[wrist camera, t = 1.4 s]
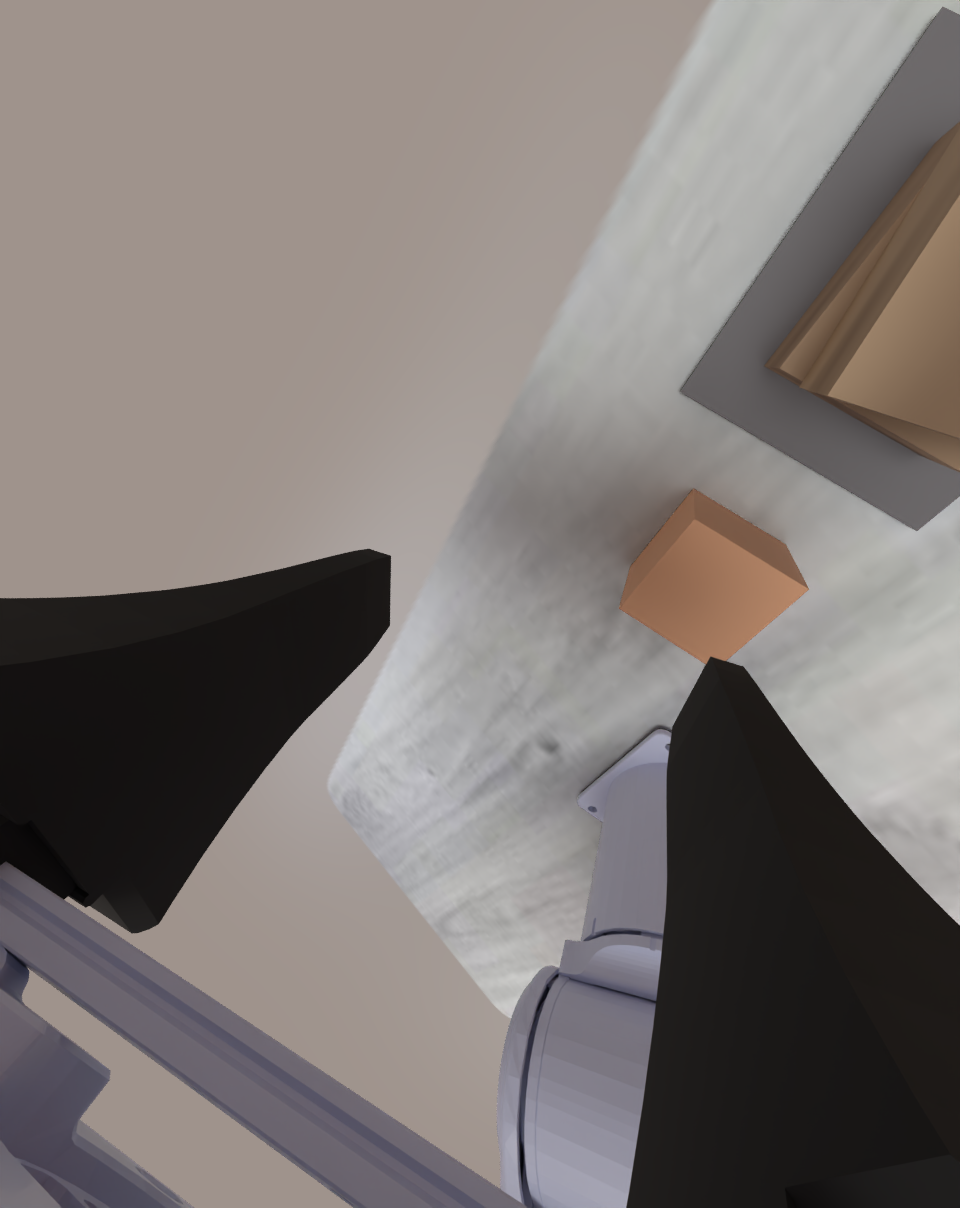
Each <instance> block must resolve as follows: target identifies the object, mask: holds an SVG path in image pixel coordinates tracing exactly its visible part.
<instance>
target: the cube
mask: <svg viewBox="0 0 960 1208" xmlns="http://www.w3.org/2000/svg"><path fill="white" fill-rule="evenodd" d="M808 590H809V588H808V586H807V584H806V582H805V581H804V579H803V577H802V575H801V573H800V571H799V569H798V567H797V565H796V563H795V561H794V559H793V557H792V555H791V553H790V551H789V550H788V548H787V546H786V545H785V544H784V543H782V542H781V541H779V540H777V539H776V538H774V537H772V536H771V535H769V534H767V533H766V532H764V531H763V530H761V529H759V528H758V527H756V526H754V525H753V524H751V523H749V522H748V521H746V520H744V519H743V518H741V517H740V516H738V515H736V514H735V513H733V512H731V511H730V510H728V509H726V508H725V507H723V506H722V505H720V504H718V503H717V502H715V501H713V500H712V499H710V498H708V497H707V496H705V495H703V494H702V493H700V492H699V491H697V490H695V489H694V488H693V490H692V491H691V492H690V493H689V495H688V496H687V497H686V498H685V499H684V501H683V502H682V503H681V504H680V506H679V507H678V508H677V509H676V511H675V512H674V513H673V514H672V516H671V517H670V518H669V519H668V521H667V522H666V523H665V524H664V526H663V527H662V528H661V529H660V530H659V532H658V533H657V534H656V535H655V537H654V538H653V539H652V540H651V542H650V543H649V544H648V545H647V547H646V548H645V549H644V550H643V552H642V553H641V554H640V555H639V557H638V558H637V559H636V560H635V562H634V563H633V564H632V565H631V566H630V569H629V573H628V577H627V580H626V584H625V588H624V591H623V595H622V599H621V602H620V606H619V609H621V610H622V611H624V612H625V613H627V614H628V615H630V616H631V617H633V618H635V619H636V620H638V621H639V622H641V623H642V624H644V625H645V626H647V627H648V628H650V629H652V630H653V631H655V632H656V633H658V634H659V635H661V636H662V637H664V638H666V639H667V640H669V641H670V642H672V643H673V644H675V645H676V646H678V647H680V648H681V649H683V650H684V651H686V652H687V653H689V654H690V655H692V656H694V657H695V658H697V659H698V660H700V661H701V662H703V663H704V664H707V662H708V660H709V658H710V656H711V657H714V658H717V659H720V660H724V661H726V660H727V659H729V658H730V657H731V656H732V655H733V654H734V653H736V652H737V651H738V650H739V649H740V648H741V647H743V646H744V645H745V644H746V643H747V642H748V641H750V640H751V639H752V638H753V637H754V636H755V635H757V634H758V633H759V632H760V631H761V630H762V629H764V628H765V627H766V626H767V625H768V624H769V623H770V622H772V621H773V620H774V619H775V618H776V617H777V616H779V615H780V614H781V613H782V612H783V611H784V610H786V609H787V608H788V607H789V606H790V605H791V604H793V603H794V602H795V601H796V600H797V599H798V598H800V597H801V596H802V595H803V594H804V593H805V592H807V591H808Z"/></svg>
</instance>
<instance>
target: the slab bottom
mask: <svg viewBox="0 0 960 1208" xmlns="http://www.w3.org/2000/svg"><path fill="white" fill-rule="evenodd" d="M959 128H960V122H958V123H957V124H956V125H955V126H954V127H953V128H952V129H950V130H949V131H948V132H947V133H946V134H945V135H943V136H942V137H941V138H940V139H939V140H938V141H936V143H935V144H934V145H933V146H932V148H931V149H930V150H929V152H928V153H927V154H926V156H925V157H924V158H923V160H922V161H921V162H920V163H919V165H918V166H917V167H916V169H915V170H914V171H913V173H912V174H911V175H910V176H909V178H908V179H907V180H906V182H905V183H904V184H903V186H902V187H901V188H900V189H899V191H898V192H897V193H896V195H895V196H894V197H893V199H892V200H891V201H890V203H889V204H888V205H887V206H886V208H885V209H884V210H883V212H882V213H881V214H880V216H879V217H878V218H877V219H876V221H875V222H874V223H873V225H872V226H871V227H870V229H869V230H868V231H867V232H866V234H865V235H864V236H863V238H862V239H861V240H860V242H859V243H858V244H857V246H856V247H855V248H854V249H853V251H852V252H851V253H850V255H849V256H848V257H847V259H846V260H845V261H844V262H843V264H842V265H841V266H840V268H839V269H838V270H837V272H836V273H835V274H834V275H833V277H832V278H831V279H830V281H829V282H828V283H827V285H826V286H825V287H824V289H823V290H822V291H821V292H820V294H819V295H818V296H817V298H816V299H815V300H814V302H813V303H812V304H811V305H810V307H809V308H808V309H807V311H806V312H805V313H804V315H803V316H802V317H801V319H800V320H799V321H798V322H797V324H796V325H795V326H794V328H793V329H792V330H791V332H790V333H789V334H788V335H787V337H786V338H785V339H784V341H783V342H782V343H781V345H780V346H779V347H778V348H777V350H776V351H775V352H774V354H773V355H772V356H771V358H770V359H769V360H768V362H767V363H766V364H765V365H764V366H765V367H766V368H768V369H770V370H772V371H773V372H775V373H777V374H779V375H780V376H782V377H784V378H786V379H787V380H789V381H791V382H793V383H794V384H796V385H798V386H800V385H801V383H802V382H803V380H804V379H805V377H806V375H807V374H808V372H809V371H810V369H811V367H812V366H813V364H814V362H815V361H816V359H817V358H818V356H819V354H820V353H821V351H822V350H823V348H824V346H825V345H826V343H827V342H828V340H829V338H830V337H831V335H832V333H833V332H834V330H835V329H836V327H837V325H838V324H839V322H840V321H841V319H842V317H843V316H844V314H845V312H846V311H847V309H848V308H849V306H850V304H851V303H852V301H853V300H854V298H855V296H856V295H857V293H858V291H859V290H860V288H861V287H862V285H863V283H864V282H865V280H866V279H867V277H868V275H869V274H870V272H871V271H872V269H873V267H874V266H875V264H876V262H877V261H878V259H879V258H880V256H881V254H882V253H883V251H884V250H885V248H886V246H887V245H888V243H889V241H890V240H891V238H892V237H893V235H894V233H895V232H896V230H897V229H898V227H899V225H900V224H901V222H902V220H903V219H904V217H905V216H906V214H907V212H908V211H909V209H910V208H911V206H912V204H913V203H914V201H915V199H916V198H917V196H918V195H919V193H920V191H921V190H922V188H923V187H924V185H925V183H926V182H927V180H928V179H929V177H930V175H931V174H932V172H933V170H934V169H935V167H936V166H937V164H938V162H939V161H940V159H941V158H942V156H943V154H944V153H945V151H946V149H947V148H948V146H949V145H950V143H951V141H952V140H953V138H954V137H955V135H956V133H957V132H958V130H959ZM807 391H808V390H807ZM808 392H810V393H812V394H814V395H815V396H817V397H819V398H821V399H822V400H824V401H826V402H828V403H829V404H831V405H833V406H835V407H836V408H838V409H840V410H842V411H843V412H845V413H847V414H849V415H850V416H852V417H854V418H856V419H857V420H859V421H861V422H863V423H864V424H866V425H868V426H870V427H871V428H873V429H875V430H877V431H878V432H880V433H882V434H883V435H885V436H887V437H889V438H890V439H892V440H894V441H896V442H897V443H899V444H901V445H903V446H904V447H906V448H908V449H910V450H911V451H913V452H915V453H917V454H918V455H920V456H922V457H925V458H927V459H929V460H932V461H934V462H936V463H939V464H941V465H943V466H946V467H948V468H950V469H953V470H955V471H957V472H960V440H959V439H956V438H953V437H950V436H947V435H944V434H941V433H938V432H935V431H932V430H929V429H926V428H923V427H919V426H916V425H913V424H910V423H907V422H904V421H901V420H898V419H895V418H892V417H889V416H886V415H882V414H879V413H876V412H873V411H870V410H867V409H864V408H861V407H858V406H855V405H852V404H849V403H845V402H842V401H839V400H836V399H833V398H830V397H827V396H824V395H821V394H818V393H815V392H812V391H808Z"/></svg>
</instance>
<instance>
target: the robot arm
mask: <svg viewBox="0 0 960 1208" xmlns="http://www.w3.org/2000/svg"><path fill="white" fill-rule="evenodd" d="M390 572H391V556H390V555H387V554H384V553H380V552H377V551H374V550H371V549H364V550H358V551H353V552H348V553H343V554H340V555H335V556H331V557H327V558H323V559H319V560H315V561H311V562H307V563H303V564H299V565H295V566H291V567H287V568H283V569H279V570H274V571H270V572H265V573H261V574H256V575H252V576H247V577H243V578H238V579H233V580H228V581H223V582H218V583H211V584H206V585H199V586H193V587H185V588H178V589H171V590H162V591H151V592H139V593H130V594H129V593H128V594H117V595H106V596H87V597H66V598H17V599H16V598H15V599H14V598H11V599H10V598H0V1208H194V1207H193V1206H191V1205H190V1204H189V1203H188V1202H186V1201H185V1200H183V1199H182V1198H181V1197H180V1196H178V1195H177V1194H176V1193H175V1192H173V1191H172V1190H171V1189H169V1188H168V1187H167V1186H165V1185H164V1184H163V1183H161V1182H160V1181H159V1180H158V1179H156V1178H155V1177H153V1176H152V1175H151V1174H150V1173H148V1172H147V1171H146V1170H145V1169H143V1168H142V1167H141V1166H139V1165H138V1164H137V1163H135V1162H134V1161H133V1160H132V1159H130V1158H129V1157H128V1156H126V1155H125V1154H124V1153H123V1152H121V1151H120V1150H119V1149H117V1148H116V1147H115V1146H113V1145H112V1144H111V1143H110V1142H108V1141H107V1140H106V1139H104V1138H103V1137H102V1136H101V1135H99V1134H98V1133H97V1132H95V1131H94V1130H93V1129H91V1128H90V1127H89V1126H88V1125H86V1124H85V1123H84V1122H82V1121H81V1120H80V1118H81V1117H82V1115H83V1114H84V1112H85V1111H86V1110H87V1109H88V1107H89V1106H90V1104H91V1103H92V1102H93V1101H94V1100H95V1098H96V1097H97V1096H98V1094H99V1093H100V1092H101V1091H102V1089H103V1088H104V1087H105V1085H106V1084H107V1083H108V1081H109V1079H110V1070H109V1069H108V1068H107V1067H105V1066H104V1065H103V1064H101V1063H100V1062H99V1061H98V1060H96V1059H95V1058H94V1057H93V1056H91V1055H90V1054H89V1053H88V1052H86V1051H85V1050H84V1049H82V1048H81V1047H80V1046H78V1045H77V1044H76V1043H74V1042H73V1041H72V1040H71V1039H69V1038H68V1037H67V1036H65V1035H64V1034H63V1033H61V1032H60V1031H59V1030H57V1029H56V1028H55V1027H53V1026H52V1025H51V1024H49V1023H48V1022H47V1021H45V1020H44V1019H43V1018H41V1017H40V1016H38V1015H37V1014H36V1013H35V1012H33V1011H32V1010H31V1009H29V1008H28V1007H27V1006H25V1004H24V1003H23V1002H22V993H23V990H24V988H25V986H26V984H27V982H28V978H29V970H28V968H29V969H30V970H32V971H33V972H34V973H36V974H37V975H38V976H40V977H41V978H43V979H44V980H45V981H46V982H48V983H49V984H51V985H52V986H53V987H55V988H56V989H57V990H59V991H60V992H61V993H63V994H65V995H66V996H67V997H69V998H70V999H71V1000H72V1001H74V1002H75V1003H77V1004H78V1005H79V1006H81V1007H82V1008H83V1009H85V1010H86V1011H87V1012H89V1013H90V1014H91V1015H93V1016H94V1017H95V1018H97V1019H98V1020H99V1021H101V1022H102V1023H104V1024H105V1025H106V1026H108V1027H109V1028H110V1029H112V1030H113V1031H114V1032H116V1033H117V1034H118V1035H120V1036H121V1037H123V1038H124V1039H125V1040H127V1041H128V1042H129V1043H131V1044H132V1045H133V1046H135V1047H136V1048H137V1049H139V1050H140V1051H142V1052H143V1053H144V1054H146V1055H147V1056H148V1057H150V1058H151V1059H152V1060H154V1061H155V1062H156V1063H158V1064H159V1065H161V1066H162V1067H163V1068H165V1069H166V1070H168V1071H169V1072H170V1073H171V1074H173V1075H174V1076H176V1077H177V1078H178V1079H180V1080H181V1081H182V1082H184V1083H185V1084H187V1085H188V1086H189V1087H190V1088H192V1089H193V1090H195V1091H196V1092H197V1093H199V1094H200V1095H201V1096H203V1097H204V1098H205V1099H207V1100H208V1101H210V1102H211V1103H212V1104H213V1105H215V1106H216V1107H218V1108H219V1109H220V1110H222V1111H223V1112H224V1113H226V1114H227V1115H229V1116H230V1117H231V1118H232V1119H234V1120H235V1121H237V1122H238V1123H239V1124H241V1125H242V1126H243V1127H245V1128H246V1129H248V1130H249V1131H250V1132H251V1133H253V1134H254V1135H256V1136H257V1137H258V1138H260V1139H261V1140H262V1141H264V1142H265V1143H266V1144H268V1145H269V1146H270V1147H272V1148H274V1149H275V1150H276V1151H277V1152H279V1153H280V1154H281V1155H283V1156H284V1157H285V1158H287V1159H288V1160H290V1161H291V1162H292V1163H294V1164H295V1165H296V1166H298V1167H299V1168H300V1169H302V1170H303V1171H305V1172H306V1173H307V1174H309V1175H310V1176H311V1177H313V1178H314V1179H315V1180H317V1181H318V1182H319V1183H321V1184H322V1185H324V1186H325V1187H326V1188H328V1189H329V1190H330V1191H332V1192H333V1193H334V1194H336V1195H337V1196H339V1197H340V1198H341V1199H342V1200H344V1201H345V1202H347V1203H348V1204H349V1205H351V1206H352V1207H353V1208H960V925H959V924H957V923H956V922H955V921H954V920H953V919H952V918H951V917H950V916H949V915H948V914H947V913H946V912H945V911H944V910H943V909H942V908H941V907H940V906H939V905H938V904H937V903H936V902H935V901H934V900H933V899H932V898H931V897H930V896H929V895H928V894H927V893H926V892H925V891H924V889H923V888H922V887H921V886H920V885H919V884H918V883H917V882H916V881H915V880H914V879H913V878H912V877H911V876H910V875H909V874H908V873H907V872H906V870H905V869H904V868H903V867H902V866H901V865H900V864H899V863H898V862H897V861H896V860H895V859H894V857H893V856H892V855H891V854H890V853H889V852H888V851H887V850H886V849H885V848H884V847H883V846H882V844H881V843H880V842H879V841H878V840H877V839H876V838H875V837H874V836H873V835H872V834H871V832H870V831H869V830H868V829H867V828H866V827H865V826H864V824H863V823H862V822H861V821H860V820H859V819H858V818H857V816H856V815H855V814H854V813H853V812H852V810H851V809H850V808H849V807H848V806H847V804H846V803H845V802H844V801H843V799H842V798H841V797H840V796H839V795H838V793H837V792H836V791H835V790H834V788H833V787H832V786H831V785H830V784H829V782H828V781H827V780H826V779H825V777H824V776H823V775H822V774H821V772H820V771H819V770H818V768H817V767H816V766H815V764H814V763H813V762H812V761H811V759H810V758H809V757H808V755H807V754H806V753H805V751H804V750H803V749H802V747H801V746H800V745H799V743H798V742H797V741H796V739H795V738H794V736H793V735H792V734H791V732H790V731H789V730H788V728H787V727H786V725H785V724H784V723H783V721H782V720H781V718H780V717H779V715H778V714H777V713H776V711H775V710H774V708H773V707H772V705H771V704H770V703H769V701H768V700H767V698H766V697H765V695H764V694H763V693H762V691H761V690H760V688H759V687H758V685H757V684H756V683H755V681H754V680H753V678H752V677H751V676H750V674H749V673H748V672H747V671H746V669H745V668H744V667H743V666H739V665H736V664H733V663H730V662H727V661H724V660H720V659H717V658H714V657H711V656H710V658H709V660H708V662H707V664H706V666H705V667H704V669H703V671H702V673H701V675H700V677H699V679H698V680H697V682H696V684H695V686H694V688H693V690H692V692H691V693H690V695H689V697H688V699H687V701H686V703H685V704H684V706H683V708H682V710H681V712H680V714H679V716H678V717H677V719H676V721H675V723H674V725H673V727H672V733H670V732H669V731H667V730H663V729H658V730H656V731H654V732H653V733H651V734H650V735H649V736H648V737H647V738H646V739H644V740H643V741H642V742H641V743H640V744H638V745H637V746H636V747H635V748H634V749H633V750H631V751H630V752H629V753H628V754H627V755H625V756H624V757H623V758H622V759H621V760H620V761H618V762H617V763H616V764H615V765H614V766H612V767H611V768H610V769H609V770H608V771H607V772H605V773H604V774H603V775H602V776H601V777H599V778H598V779H597V780H596V781H595V782H594V783H592V784H591V785H590V786H589V787H588V788H587V789H585V790H584V791H583V792H582V793H581V794H579V796H578V799H577V803H578V805H579V806H580V807H581V808H582V809H584V810H585V811H587V812H588V813H590V814H591V815H592V816H594V817H595V818H597V819H598V820H600V821H601V822H603V823H602V828H601V834H600V839H599V845H598V850H597V856H596V861H595V866H594V872H593V877H592V883H591V888H590V894H589V899H588V904H587V910H586V915H585V921H584V926H583V932H582V937H581V941H572V940H566V941H565V944H564V949H563V954H562V958H561V963H560V968H558V967H555V966H546V967H544V968H542V969H541V970H540V971H539V972H538V973H537V974H536V975H535V977H534V978H533V979H532V981H531V982H530V983H529V984H528V986H527V987H526V988H525V990H524V991H523V993H522V994H521V996H520V998H519V1000H518V1002H517V1005H516V1007H515V1010H514V1012H513V1015H512V1018H511V1021H510V1025H509V1028H508V1032H507V1036H506V1040H505V1044H504V1049H503V1055H502V1060H501V1068H500V1074H499V1084H498V1095H497V1134H498V1144H499V1150H500V1167H501V1168H500V1169H501V1170H500V1171H501V1183H500V1185H501V1186H500V1189H499V1188H498V1187H496V1186H495V1185H493V1184H492V1183H490V1182H489V1181H487V1180H486V1179H484V1178H483V1177H481V1176H480V1175H478V1174H477V1173H475V1172H474V1171H472V1170H471V1169H469V1168H468V1167H466V1166H465V1165H463V1164H462V1163H460V1162H458V1161H457V1160H456V1159H454V1158H452V1157H451V1156H450V1155H448V1154H447V1153H445V1152H444V1151H442V1150H440V1149H439V1148H438V1147H436V1146H434V1145H433V1144H431V1143H430V1142H428V1141H427V1140H425V1139H424V1138H422V1137H421V1136H419V1135H418V1134H416V1133H415V1132H413V1131H412V1130H410V1129H409V1128H407V1127H406V1126H404V1125H403V1124H401V1123H400V1122H398V1121H397V1120H395V1119H394V1118H392V1117H391V1116H389V1115H388V1114H386V1113H385V1112H383V1111H382V1110H380V1109H379V1108H377V1107H376V1106H374V1105H372V1104H371V1103H370V1102H368V1101H366V1100H365V1099H364V1098H362V1097H361V1096H359V1095H358V1094H356V1093H355V1092H353V1091H351V1090H350V1089H349V1088H347V1087H346V1086H344V1085H342V1084H341V1083H339V1082H338V1081H336V1080H335V1079H333V1078H332V1077H330V1076H329V1075H327V1074H326V1073H324V1072H323V1071H321V1070H320V1069H318V1068H317V1067H315V1066H314V1065H312V1064H311V1063H309V1062H308V1061H306V1060H305V1059H303V1058H302V1057H300V1056H299V1055H297V1054H296V1053H294V1052H292V1051H291V1050H289V1049H288V1048H287V1047H285V1046H283V1045H282V1044H281V1043H279V1042H278V1041H276V1040H275V1039H273V1038H272V1037H270V1036H269V1035H267V1034H265V1033H264V1032H263V1031H261V1030H260V1029H258V1028H257V1027H255V1026H254V1025H252V1024H251V1023H249V1022H247V1021H246V1020H244V1019H243V1018H241V1017H240V1016H238V1015H237V1014H235V1013H234V1012H232V1011H231V1010H229V1009H228V1008H226V1007H225V1006H223V1005H222V1004H220V1003H219V1002H217V1001H216V1000H214V999H213V998H211V997H210V996H208V995H207V994H205V993H204V992H202V991H201V990H199V989H198V988H196V987H195V986H193V985H192V984H190V983H189V982H187V981H186V980H184V979H182V978H181V977H180V976H178V975H177V974H175V973H173V972H172V971H170V970H169V969H168V968H166V967H164V966H163V965H162V964H160V963H158V962H157V961H155V960H154V959H152V958H151V957H149V956H148V955H146V954H145V953H143V952H142V951H140V950H139V949H137V948H136V947H134V946H133V945H131V944H130V943H128V942H127V941H125V940H124V939H122V938H121V937H119V936H118V935H116V934H115V933H113V932H112V931H110V930H109V929H107V928H106V927H104V926H103V925H101V924H100V923H98V922H97V921H95V920H94V919H92V918H91V917H89V916H87V915H86V914H85V913H83V912H81V911H80V910H79V909H77V908H76V907H74V906H73V905H71V904H70V903H68V902H66V901H65V900H64V899H65V898H66V897H67V896H69V897H70V898H72V899H74V900H75V901H76V902H78V903H79V904H81V905H82V906H84V907H88V906H91V907H92V908H94V909H96V910H97V911H98V912H100V913H102V914H103V915H105V916H106V917H108V918H109V919H111V920H112V921H114V922H115V923H117V924H118V925H120V926H121V927H123V928H124V929H126V930H128V931H129V932H131V933H139V932H142V931H145V930H148V929H150V928H152V927H154V926H156V925H158V924H159V923H160V921H161V920H162V918H163V916H164V915H165V913H166V912H167V910H168V908H169V907H170V905H171V903H172V902H173V900H174V899H175V897H176V896H177V894H178V893H179V891H180V890H181V888H182V887H183V885H184V883H185V882H186V880H187V879H188V877H189V876H190V874H191V873H192V871H193V870H194V868H195V866H196V865H197V863H198V862H199V860H200V859H201V857H202V856H203V854H204V853H205V851H206V850H207V848H208V847H209V846H210V844H211V843H212V841H213V840H214V838H215V837H216V836H217V834H218V833H219V831H220V830H221V828H222V827H223V826H224V824H225V823H226V821H227V820H228V818H229V817H230V816H231V814H232V813H233V811H234V810H235V808H236V807H237V806H238V804H239V803H240V802H241V800H242V799H243V798H244V796H245V795H246V794H247V792H248V791H249V790H250V788H251V787H252V785H253V784H254V783H255V781H256V780H257V779H258V778H259V776H260V775H261V774H262V772H263V771H264V769H265V768H266V767H267V766H268V764H269V763H270V762H271V761H272V759H273V758H274V757H275V756H276V754H277V753H278V752H279V751H280V749H281V748H282V747H283V746H284V744H285V743H286V742H287V740H288V739H289V738H290V737H291V736H292V735H293V733H294V732H295V731H296V730H297V729H298V728H299V727H300V726H301V724H302V723H303V722H304V721H305V720H306V719H307V718H308V717H309V716H310V715H311V714H312V713H313V712H314V711H315V710H316V709H317V708H318V707H319V706H320V705H321V704H322V703H323V701H325V700H326V699H327V698H328V697H329V696H330V695H331V694H332V693H333V691H335V690H336V688H337V687H338V686H339V685H340V684H341V683H342V682H343V681H344V680H345V679H346V678H347V677H348V676H349V675H350V674H351V673H352V672H353V671H354V670H355V669H356V668H357V667H358V666H359V665H360V664H361V663H362V662H363V660H364V659H365V658H366V657H367V656H368V655H369V653H370V652H371V651H372V650H373V648H374V647H375V646H376V644H377V643H378V642H379V640H380V639H381V637H382V636H383V634H384V633H385V632H386V630H387V629H388V627H389V626H390V578H391V573H390ZM667 744H670V746H669V745H667Z"/></svg>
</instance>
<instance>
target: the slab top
mask: <svg viewBox="0 0 960 1208" xmlns="http://www.w3.org/2000/svg"><path fill="white" fill-rule="evenodd" d="M799 388H802V389H805V390H808V391H812V392H815V393H818V394H821V395H824V396H827V397H830V398H833V399H836V400H839V401H842V402H845V403H849V404H852V405H855V406H858V407H861V408H864V409H867V410H870V411H873V412H876V413H879V414H882V415H886V416H889V417H892V418H895V419H898V420H901V421H904V422H907V423H910V424H913V425H916V426H919V427H923V428H926V429H929V430H932V431H935V432H938V433H941V434H944V435H947V436H950V437H953V438H956V439H959V440H960V128H959V130H958V132H957V133H956V135H955V137H954V138H953V140H952V141H951V143H950V145H949V146H948V148H947V149H946V151H945V153H944V154H943V156H942V158H941V159H940V161H939V162H938V164H937V166H936V167H935V169H934V170H933V172H932V174H931V175H930V177H929V179H928V180H927V182H926V183H925V185H924V187H923V188H922V190H921V191H920V193H919V195H918V196H917V198H916V199H915V201H914V203H913V204H912V206H911V208H910V209H909V211H908V212H907V214H906V216H905V217H904V219H903V220H902V222H901V224H900V225H899V227H898V229H897V230H896V232H895V233H894V235H893V237H892V238H891V240H890V241H889V243H888V245H887V246H886V248H885V250H884V251H883V253H882V254H881V256H880V258H879V259H878V261H877V262H876V264H875V266H874V267H873V269H872V271H871V272H870V274H869V275H868V277H867V279H866V280H865V282H864V283H863V285H862V287H861V288H860V290H859V291H858V293H857V295H856V296H855V298H854V300H853V301H852V303H851V304H850V306H849V308H848V309H847V311H846V312H845V314H844V316H843V317H842V319H841V321H840V322H839V324H838V325H837V327H836V329H835V330H834V332H833V333H832V335H831V337H830V338H829V340H828V342H827V343H826V345H825V346H824V348H823V350H822V351H821V353H820V354H819V356H818V358H817V359H816V361H815V362H814V364H813V366H812V367H811V369H810V371H809V372H808V374H807V375H806V377H805V379H804V380H803V382H802V383H801V385H800V387H799Z"/></svg>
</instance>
